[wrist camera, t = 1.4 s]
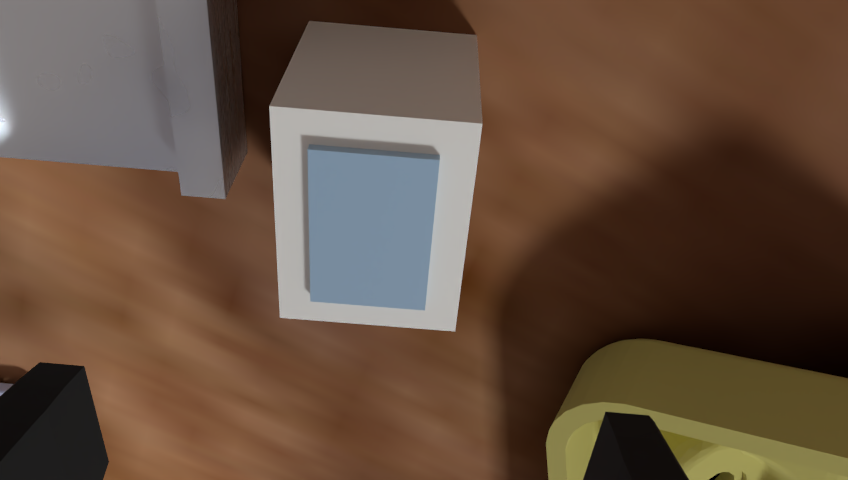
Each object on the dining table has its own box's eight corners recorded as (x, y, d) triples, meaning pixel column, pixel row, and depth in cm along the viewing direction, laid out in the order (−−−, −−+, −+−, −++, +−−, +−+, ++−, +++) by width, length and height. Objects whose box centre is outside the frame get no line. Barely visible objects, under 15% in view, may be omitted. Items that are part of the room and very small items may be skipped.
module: (312, 204, 20) (278, 323, 16) (309, 19, 17) (266, 111, 13) (454, 216, 20) (455, 337, 16) (476, 33, 17) (483, 128, 13)
